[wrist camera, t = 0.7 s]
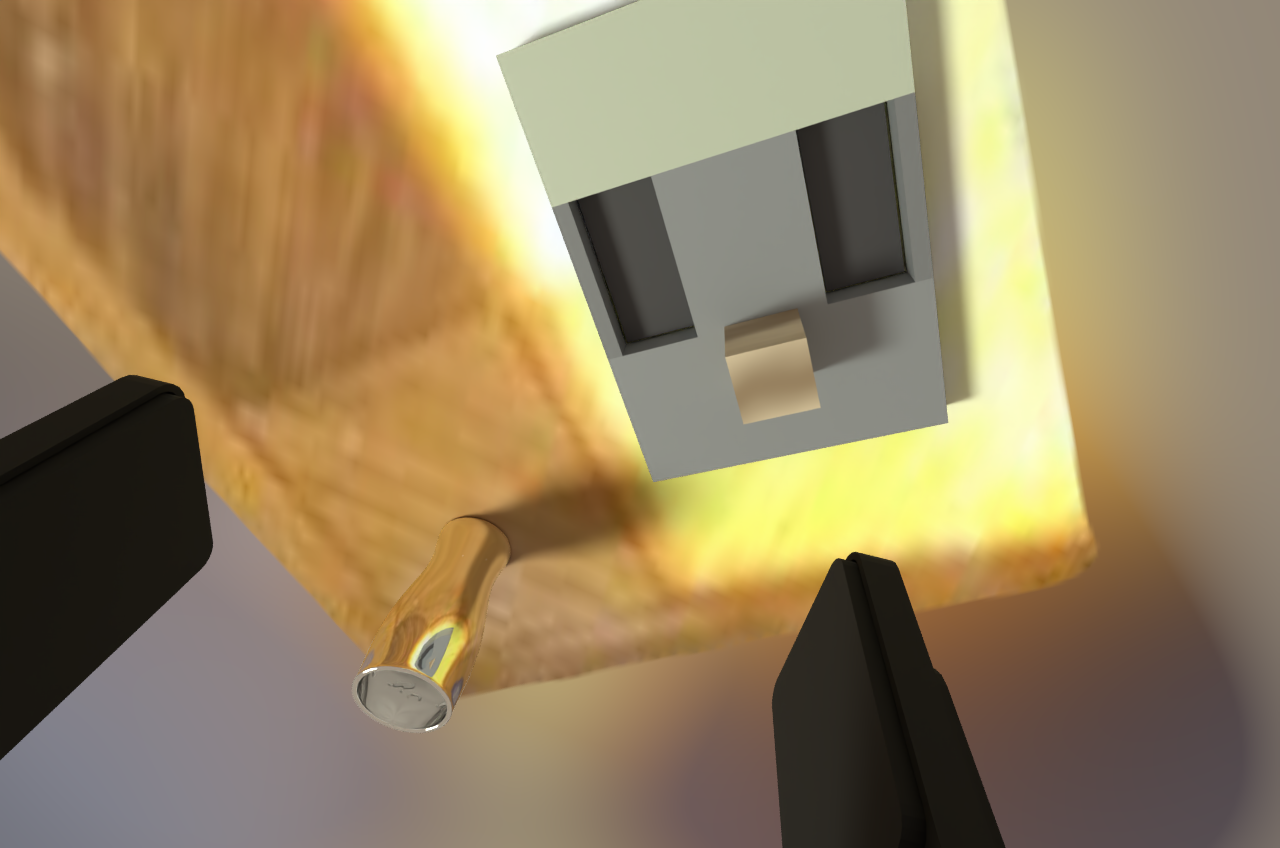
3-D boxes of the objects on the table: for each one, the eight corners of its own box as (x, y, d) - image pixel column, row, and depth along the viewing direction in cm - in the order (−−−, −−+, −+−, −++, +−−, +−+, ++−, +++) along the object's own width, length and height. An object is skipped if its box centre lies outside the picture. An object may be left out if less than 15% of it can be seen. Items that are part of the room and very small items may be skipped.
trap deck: (506, 54, 36) (495, 55, 34) (885, -92, 31) (895, -99, 29) (655, 466, 49) (653, 482, 47) (939, 407, 44) (948, 422, 42)
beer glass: (514, 582, 56) (455, 743, 43) (435, 567, 56) (352, 724, 43) (518, 520, 53) (454, 676, 40) (433, 505, 53) (342, 656, 40)
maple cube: (724, 326, 40) (725, 357, 36) (797, 308, 39) (806, 337, 35) (741, 389, 42) (743, 424, 39) (810, 373, 41) (820, 407, 37)
